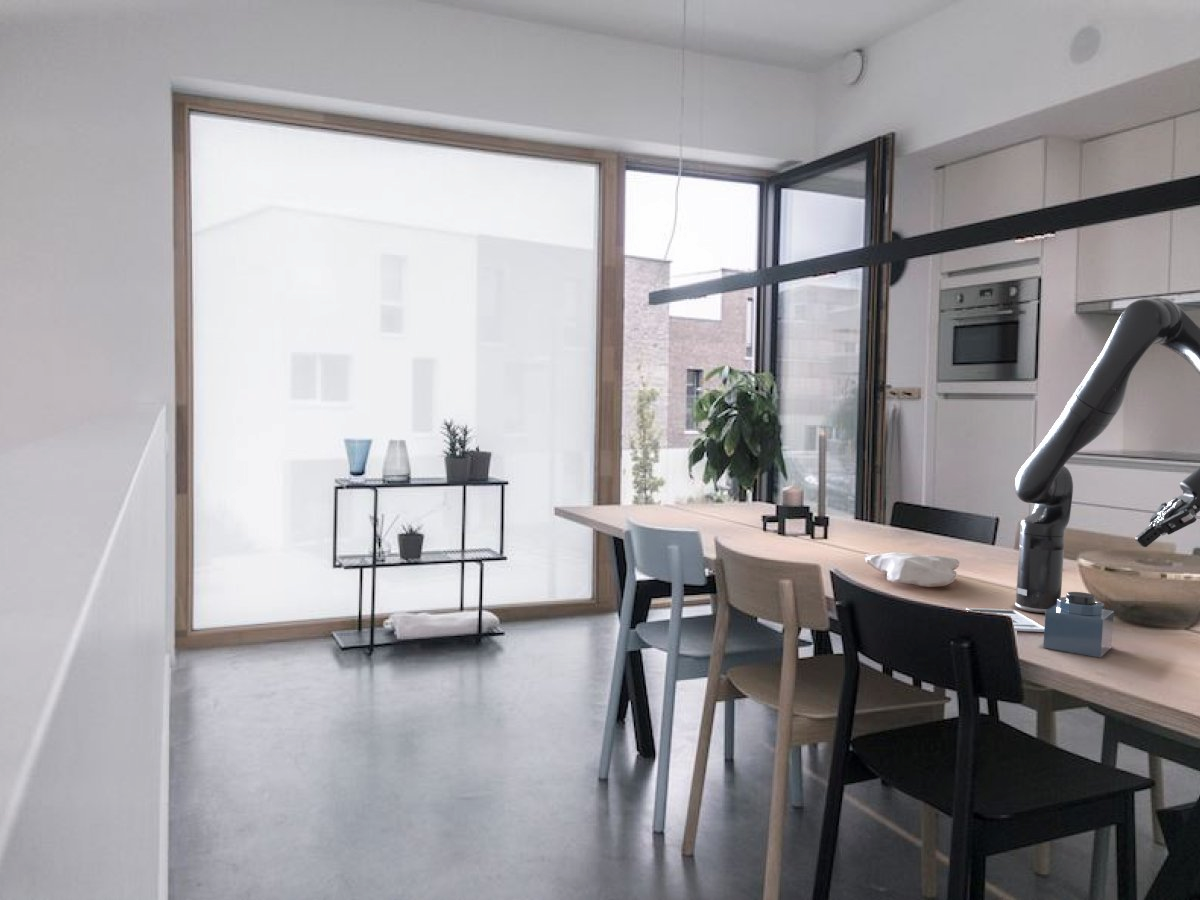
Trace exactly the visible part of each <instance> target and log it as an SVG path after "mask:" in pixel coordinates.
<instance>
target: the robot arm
mask: <svg viewBox="0 0 1200 900" xmlns="http://www.w3.org/2000/svg"><path fill="white" fill-rule="evenodd" d="M1153 345H1160V346H1163V347H1164V348H1166V349H1169V350H1170V351H1172V352H1174V353H1176V354H1178V356H1180V357H1182V358H1183V359H1184V360H1185V361H1187V363H1188V364H1190V365H1191V367H1192V368H1193V369H1194V370H1195V372H1196V373H1197V374H1198V375H1199V376H1200V326H1199V325H1198V324H1197V323H1196V322H1195V321H1194V320H1193V319H1192V318H1191V317H1190V316H1189V314H1187V313H1186V312H1185V311H1184V310H1183V309H1182V308H1181V307H1180V306H1179V305H1178V304H1176V303H1175V302H1174V301H1173V300H1170V299H1168V298H1163V297H1162V298H1161V297H1160V298H1159V297H1156V298H1154V297H1153V298H1151V297H1150V298H1140V299H1137V300H1135V301H1132V302H1131V303H1130V304H1128V305H1127V306H1126V307H1125V308H1124V309H1123V311H1122V312H1121V313H1120V316H1119V317H1118V319H1117V321H1116V323H1115V325H1114V326H1113V329H1112V331H1111V332H1110V336H1109V338H1108V339H1107V341H1106V343H1105V345H1104V347H1103V348H1102V350H1101V352H1100V353H1099V355H1098V356H1097V358H1096V360H1095V361H1094V362H1093V364H1092V365H1091V367H1090V369H1089V370H1088V372H1087V373H1086V374H1085V376H1084V378H1083V379H1082V381H1081V382H1080V384H1079V385H1078V387H1076V390H1075V391H1074V392H1073V394H1072V395H1071V397H1070V399H1069V400H1068V401H1067V403H1066V405H1065V406H1064V408H1063V410H1062V411H1061V413H1060V415H1059V416H1058V418H1057V419H1056V421H1055V422H1054V423H1053V425H1052V426H1051V428H1050V430H1049V431H1048V433H1047V434H1046V436H1045V437H1044V438H1043V440H1042V441H1041V443H1040V444H1039V445H1038V447H1037V448H1036V449H1035V450H1034V451H1033V452H1032V454H1031V455H1030V456H1029V457H1028V458H1027V460H1026V461H1025V462H1024V463H1023V465H1022V466H1020V468H1019V470H1018V472H1017V474H1016V477H1015V480H1014V491H1015V494H1016V497H1017V498H1018V499H1019V500H1020V501H1021V502H1023V503H1025V504H1031V505H1034V508H1033V510H1032V512H1031V513H1030V514H1029V515H1028V516H1026V517H1024V518H1023V519H1022V520H1021V521H1020V524H1019V525H1020V527H1019V541H1018V542H1019V544H1018V558H1017V559H1018V560H1017V575H1016V577H1017V578H1016V591H1015V602H1014V607H1015V608H1016V609H1018V610H1021V611H1025V612H1029V613H1036V614H1037V613H1038V614H1045V612H1046V610H1048V609H1049V608H1051V607H1053V606H1054V605H1056V604H1057V599H1058V598H1061V597H1062V586H1063V585H1062V584H1063V569H1064V555H1065V554H1064V553H1065V536H1066V529H1067V527H1068V525H1069V522H1070V521H1071V520H1070V519H1071V512H1072V503H1073V495H1074V494H1073V493H1074V481H1073V476H1072V474H1071V471H1070V470H1069V469H1068V468H1067V467H1066V466H1065V465H1066V464H1067V462H1068V461H1070V459H1071V458H1073V456H1075V455H1076V454H1077V453H1078V452H1079V451H1081V450H1082V449H1083V448H1085V447H1086V446H1088V445H1089V444H1091V443H1092V442H1093V441H1094V440H1095V439H1097V438H1098V437H1099V436H1100V435H1101V434H1102V433H1104V432H1105V430H1106V429H1107V428H1108V427H1109V425H1110V424H1111V422H1112V421H1113V419H1114V418H1115V416H1116V415H1118V414H1117V413H1118V412H1119V410H1120V409H1121V407H1122V405H1123V404H1124V402H1125V398H1126V395H1127V391H1128V390H1127V389H1128V385H1129V381H1130V377H1131V375H1132V372H1133V371H1134V369H1135V367H1136V366H1137V364H1138V363H1139V361H1140V360H1141V358H1143V356H1144V355H1145V354H1146V352H1147V351H1148V350H1149V349H1150V348H1151V347H1152V346H1153ZM1179 487H1180V489H1181V491H1182V494H1181V495H1179V496H1177V497H1176V496H1175V497H1173V498H1172V499H1170V500H1169V501H1168V503H1166V502H1162V503H1160V505H1159V506H1158V508H1157V509H1156V511H1155V512H1154V513H1153V515H1152V516H1151V517H1150V519H1149V520H1148V521H1149V525H1148V526H1147V527H1146V528H1145V529H1144V530H1142V531H1141V532H1140V533H1139V534H1137V535H1136V536H1135V537H1134V540H1135V541H1136V542H1137V544H1139V546H1141V547H1143V548H1147V547H1149V546H1150V545H1151V544H1152V543H1154V542H1155V541H1156V540H1158V539H1159V538H1160V537H1161V536H1165V535H1168V536H1170V535H1172V534H1174V533H1175V532H1177V531H1179V530H1182V529H1184V528H1185V527H1187V526H1190V525H1191V524H1193V523H1196V521H1197V518H1196V516H1197V514H1198V513H1200V466H1199V467H1198V468H1197V469H1196V470H1194V471H1193V472H1192V473H1191V474H1189V475H1188V476H1187V477H1185V478H1184V479H1183V480H1182V481H1181V482H1180V483H1179Z"/></svg>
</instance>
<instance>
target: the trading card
mask: <svg viewBox="0 0 1200 900" xmlns="http://www.w3.org/2000/svg"><path fill="white" fill-rule="evenodd" d="M966 610H972V611H980V612H988V613H997V614H1003V615H1008V616H1011V618H1012V620H1013V625H1014V631H1013V632H1037V633H1038V632H1039V633H1044V629H1045V626H1043V625H1041V623H1038V622H1036V621H1035V620H1033V619H1031V618H1029V617H1028V616H1026V615H1024V614H1023V613H1021V612H1019V611H1017V610H1016V609H1005V608H1004V609H1001V608H981V607H980V608H978V607H966V608H965V611H966Z"/></svg>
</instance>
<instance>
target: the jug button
mask: <svg viewBox="0 0 1200 900" xmlns="http://www.w3.org/2000/svg"><path fill="white" fill-rule="evenodd" d="M1065 597H1066V601H1067V602H1070V603H1076V604H1083V605H1095V600H1096V595H1094V594H1092V593H1088V592H1081V591H1068V592H1066V596H1065Z"/></svg>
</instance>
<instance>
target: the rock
mask: <svg viewBox="0 0 1200 900" xmlns="http://www.w3.org/2000/svg"><path fill="white" fill-rule="evenodd" d="M864 560H865V563H866V564H867V565H869V566H870V567H872V568H873V569H875V570H877V571H878V572H880V573H881V574H883V575H886V580H887V581H889V582H892V583H896V584H907V585H911V584H912V585H915V586H917V587H928V588H932V587H944V586H947V585H950V584H952V583H953V582H954V581H956V580H955V579H956V577H957V571H956V569H958V568H959V566H960V561H959V559H957V558H954V557H953V556H945V555H929V554H928V555H927V554H917V553H913V552H897V551H894V552H892V551H891V552H886V553H881V554H880V553H879V554H869V553H866V554H865V556H864Z"/></svg>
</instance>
